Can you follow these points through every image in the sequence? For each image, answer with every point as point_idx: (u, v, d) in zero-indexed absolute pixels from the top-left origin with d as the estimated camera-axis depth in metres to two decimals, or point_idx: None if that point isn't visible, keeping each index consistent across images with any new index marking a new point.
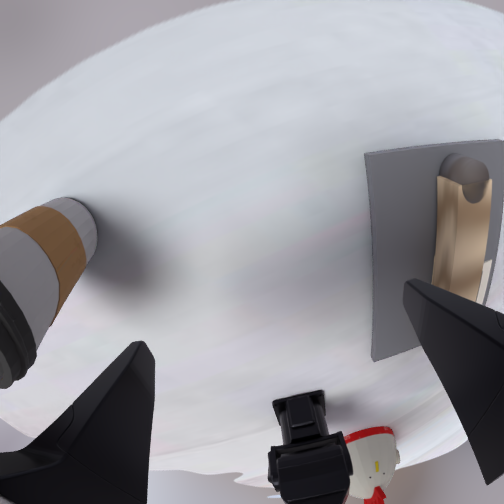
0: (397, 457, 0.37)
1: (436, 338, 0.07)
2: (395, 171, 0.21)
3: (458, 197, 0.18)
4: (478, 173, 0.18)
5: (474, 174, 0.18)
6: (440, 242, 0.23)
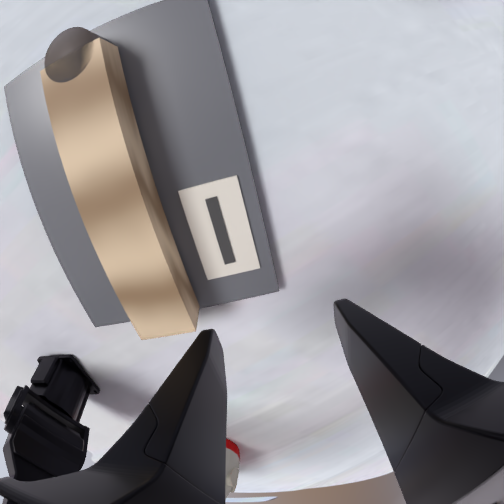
0: (228, 478, 0.30)
1: (359, 366, 0.07)
2: (24, 90, 0.14)
3: (43, 83, 0.12)
4: (69, 42, 0.11)
5: (62, 47, 0.11)
6: None
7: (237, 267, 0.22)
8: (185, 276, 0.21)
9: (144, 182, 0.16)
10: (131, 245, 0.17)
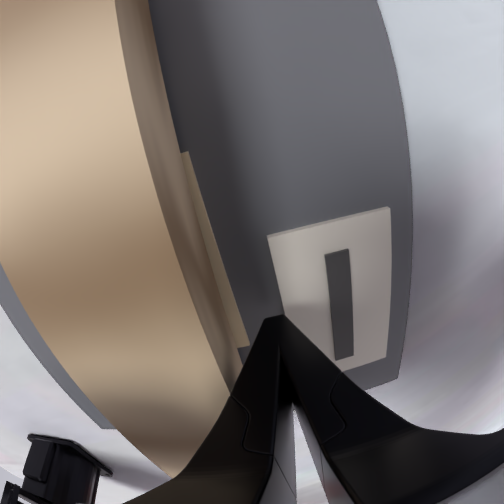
0: None
1: (288, 384, 0.07)
2: None
3: None
4: None
5: None
6: None
7: (353, 361, 0.11)
8: None
9: (186, 236, 0.06)
10: (155, 383, 0.07)
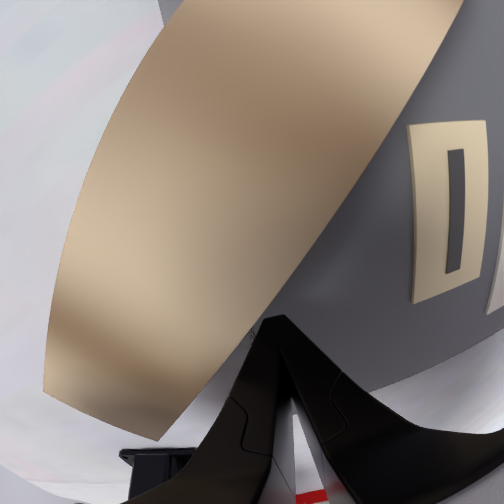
0: None
1: (289, 384, 0.07)
2: None
3: None
4: None
5: None
6: None
7: None
8: None
9: None
10: (196, 258, 0.06)
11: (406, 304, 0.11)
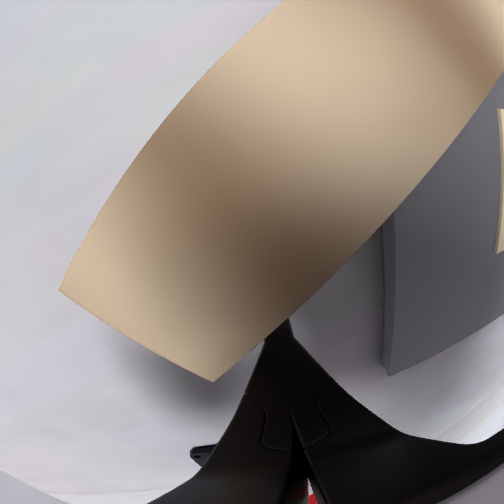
0: None
1: None
2: None
3: None
4: None
5: None
6: None
7: None
8: None
9: None
10: (387, 99, 0.05)
11: (491, 254, 0.11)
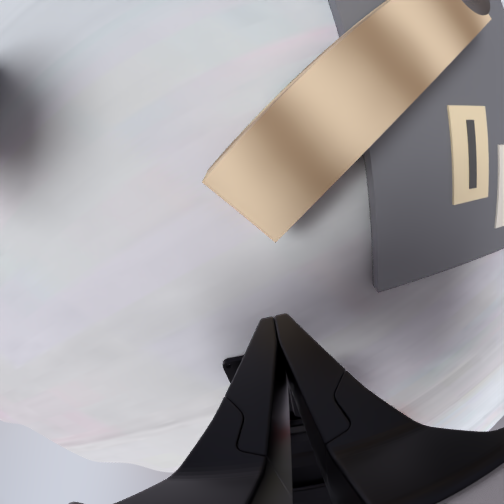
0: None
1: (291, 384, 0.07)
2: None
3: None
4: None
5: None
6: None
7: None
8: None
9: None
10: (358, 104, 0.11)
11: (450, 205, 0.17)
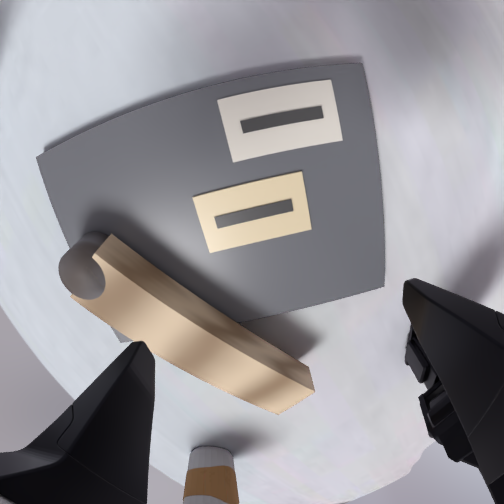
0: None
1: (436, 338, 0.07)
2: None
3: (81, 304, 0.18)
4: (73, 267, 0.16)
5: (71, 272, 0.16)
6: None
7: (328, 104, 0.16)
8: (286, 357, 0.24)
9: (216, 325, 0.20)
10: (235, 370, 0.21)
11: (312, 231, 0.20)
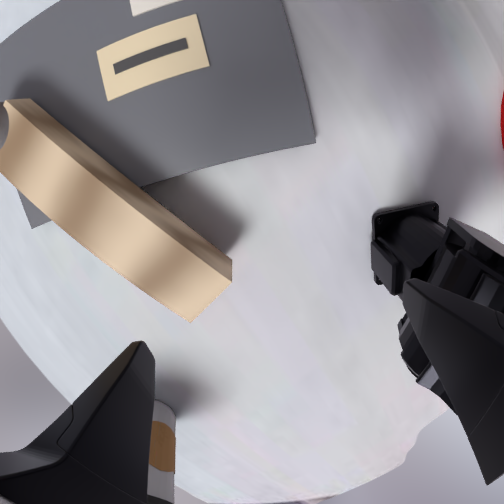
0: None
1: (436, 338, 0.07)
2: None
3: None
4: None
5: None
6: None
7: None
8: (196, 236, 0.20)
9: (102, 173, 0.16)
10: (120, 231, 0.17)
11: (211, 69, 0.16)
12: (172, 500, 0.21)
